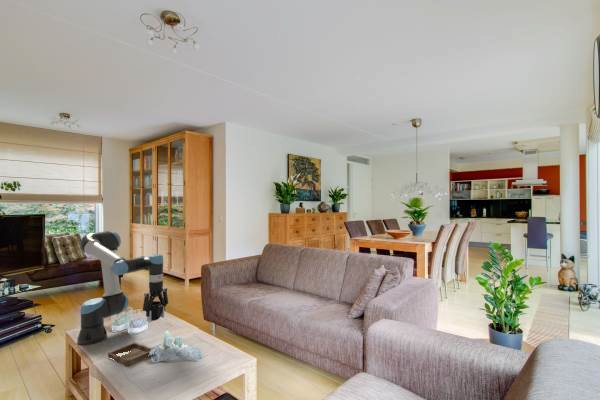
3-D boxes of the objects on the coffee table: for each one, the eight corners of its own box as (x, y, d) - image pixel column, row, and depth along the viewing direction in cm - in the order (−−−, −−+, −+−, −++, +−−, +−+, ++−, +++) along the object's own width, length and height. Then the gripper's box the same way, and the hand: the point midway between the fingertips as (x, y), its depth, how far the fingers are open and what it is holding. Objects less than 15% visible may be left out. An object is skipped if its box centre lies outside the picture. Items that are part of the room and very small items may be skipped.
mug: (155, 324, 179) (155, 307, 179) (142, 319, 185) (143, 303, 185) (168, 319, 186) (168, 303, 186) (155, 315, 192) (155, 300, 192)
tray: (108, 358, 167) (108, 353, 167) (134, 346, 180) (134, 342, 180) (128, 366, 158) (128, 361, 158) (154, 354, 171) (154, 349, 171)
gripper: (143, 286, 175) (143, 326, 175) (175, 278, 193) (174, 314, 193) (135, 284, 178) (135, 324, 178) (167, 276, 196) (166, 312, 196)
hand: (155, 319), depth 186 cm, fingers closed on mug, 8 cm apart
